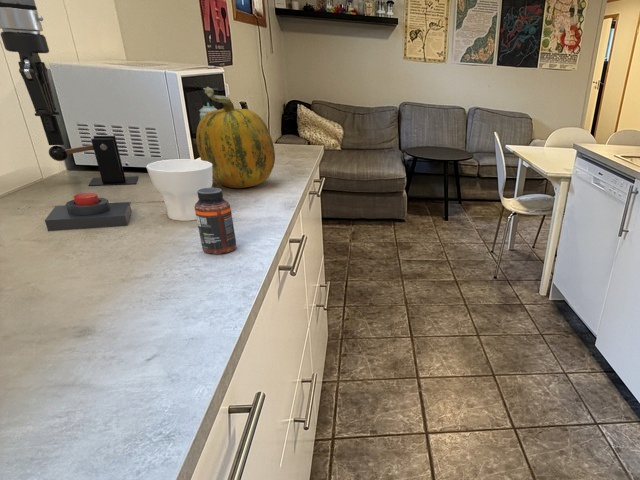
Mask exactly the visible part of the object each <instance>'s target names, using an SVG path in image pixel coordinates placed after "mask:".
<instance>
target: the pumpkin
mask: <svg viewBox="0 0 640 480" xmlns="http://www.w3.org/2000/svg"><path fill="white" fill-rule="evenodd" d="M202 89H203V90H204V94H205V95H207V97H208V98H209V99H210V100H211V101H214V102H217V103H220V104H221V103H222V105H223V108H220V109H217V110H214V111H211V112H209V113H207V114H206V115H204V116H203V118H202V119H201V120H200V119H199V122H198V125H197V128H196V134H195V135H196V137H195V138H196V139H195V141H196V147H197V152H198V155H199V158H200V160H203V161H208V162H210V163H212V180H213V181H215V182H216V183H218V184H219V185H221V186H223V187H226V188H233V189H245V188H251V187H254V186H258V185H261V184H262V183H264V182H265V181H267V179H269V177H270V176H271V173H272V171H273V169H274V166H275V164H276V163H275V161H276V152H275V151H276V150H275V145H274V142H273V138H272V136H271V132H270V130H269V127H268V125H267V124H266V122H265V121H264V119H263V118H262V117H261V116H260V115H259V114H257V113H256V112H255V111H253V110H250V109H247V108H236V107H235V106H234V103H233V102H232V100H231V99H230V98H229V97H228V96H226V95H217V94H214V92H215V91H214V89H213V88H211V87H209V86H206V87H203V88H202Z"/></svg>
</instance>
